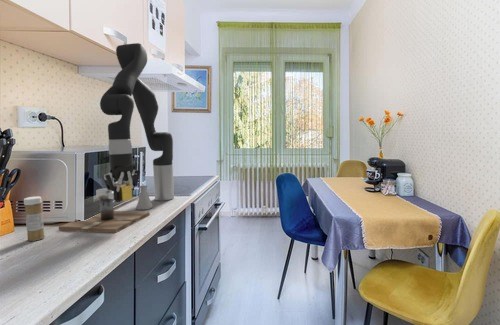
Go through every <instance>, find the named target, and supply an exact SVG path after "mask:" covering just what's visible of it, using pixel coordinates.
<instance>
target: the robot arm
mask: <svg viewBox="0 0 500 325" xmlns="http://www.w3.org/2000/svg"><path fill="white" fill-rule="evenodd" d="M115 53H116V58H117V61H118V64H119V66H120V68H121V70H120V71H119V72H118V73H117V74H116V75H115V78H114V80H113V83H112V85H111V86H110V87H109V88H108V89H107V90H106V92H104V93H103V94H102V96H101V98H100V100H99V101H100V102H99V106H100V110H101V112H103V114H105V115H107V116H121V117H120V118H119V120H117V121H113V122H110V123H109V124H108V126H107V134H108V135H107V136H108V158H109V159H108V160H109V167H110V169H109V172H108V173H106V174H105V173H104V174H102V179H103V182H104V183H105V186H106V188H107V189H108V190H111V191H113V193H114V199H113V201H115V202H116V203H120V202H122V201H121V196H120V191H119V190H120V185H123V183H124V184H125V185H132V198H133V197H134V188H135V187H137V186H139V185H138V184H139V180H140V174H141V171H140V170H139V169H134V168H133V165H134V162H133V161H134V160H133V147H132V142H131V141H132V140H131V121H132V115H133V112H134V109H135V107H136V108H137V112H138V114H139V117H140V119H141V122H142V125H143V129H144V133H145V136H146V140H147V141H146V142H147V144H148V147H149V149H151V151H153V152H162V153H161V155H160V156H159V157H155V158H154V159H152V166H153V167H152V168H153V187H154V188H153V190H154V200H155V201H170V200H173V199H174V198H175V191H174V190H175V189H174V188H175V187H174V173H173V172H174V170H173V169H174V168H173V160H174V159H173V158H174V140H173V136H172V134H171V133H170V132H167V131H166V132H165V131H164V132H161V131H160V132H159V131H158V132H157V130H156V128H155V120H156V118H157V115H158V112H159V104H158V101H157V98H156V94H155V92H154V91H153V90H152V89H151V88H150V87H149V86H148V85H147V84H146V83H144V82H143V81H142V80H141V79H140V78H139V76H140V75H141V74H142V72H143V71H144V69H145V67H146V66H147V64H148V52H147V49H146V48H145V46H144V45H143V44H142V43H140V42H137V43H128V44H120V45H118V46H116V48H115Z"/></svg>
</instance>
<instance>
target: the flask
mask: <svg viewBox="0 0 500 325" xmlns="http://www.w3.org/2000/svg"><path fill="white" fill-rule="evenodd" d="M147 188H148V185H139V190H140V191H139V192H140V193H139V197H138V201H137V204H136V207H135V210H140V211H142V210H143V211H144V210H151V209H153V208H154V206H153V203H152V201H151V199H150V198H151V197H150V196H149V194H148V189H147Z"/></svg>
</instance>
